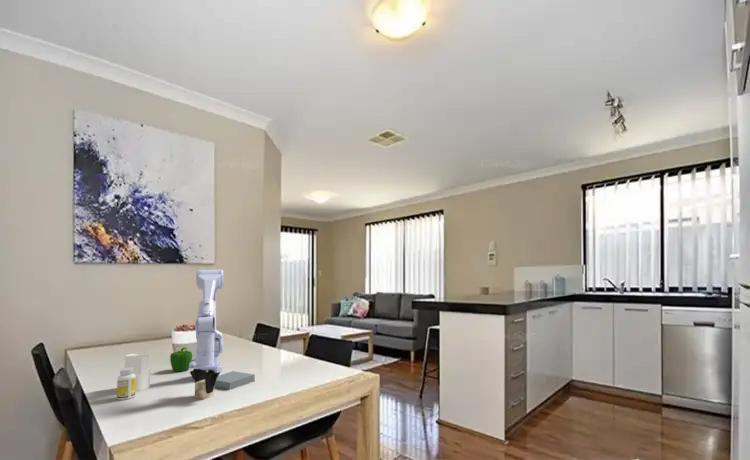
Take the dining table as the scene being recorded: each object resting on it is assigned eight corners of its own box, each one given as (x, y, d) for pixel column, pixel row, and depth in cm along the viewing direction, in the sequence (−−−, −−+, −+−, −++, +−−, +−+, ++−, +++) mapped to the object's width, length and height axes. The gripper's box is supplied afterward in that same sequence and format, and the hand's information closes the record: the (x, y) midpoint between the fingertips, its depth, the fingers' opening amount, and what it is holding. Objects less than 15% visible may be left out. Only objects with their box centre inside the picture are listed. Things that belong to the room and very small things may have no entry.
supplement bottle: (131, 394, 142) (132, 365, 143) (137, 397, 139) (138, 368, 139) (114, 398, 138) (115, 369, 139) (120, 401, 134) (121, 371, 135)
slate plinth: (207, 385, 151) (207, 378, 151) (232, 377, 161) (233, 371, 161) (229, 389, 145) (229, 382, 145) (254, 381, 155) (254, 374, 155)
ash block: (194, 397, 137) (194, 382, 137) (205, 393, 141) (206, 379, 141) (203, 399, 135) (203, 384, 135) (214, 395, 139) (214, 380, 139)
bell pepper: (166, 371, 173) (167, 347, 174) (186, 367, 180) (186, 344, 181) (175, 374, 168) (175, 349, 169) (194, 370, 174) (195, 346, 175)
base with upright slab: (115, 390, 146) (116, 357, 147) (137, 383, 155) (138, 352, 156) (133, 393, 143) (134, 358, 144) (155, 385, 152) (156, 353, 153)
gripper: (181, 351, 139) (180, 392, 138) (209, 355, 132) (209, 398, 131) (199, 347, 145) (198, 386, 144) (227, 351, 138) (226, 391, 137)
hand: (204, 391), depth 138 cm, fingers closed on ash block, 4 cm apart
